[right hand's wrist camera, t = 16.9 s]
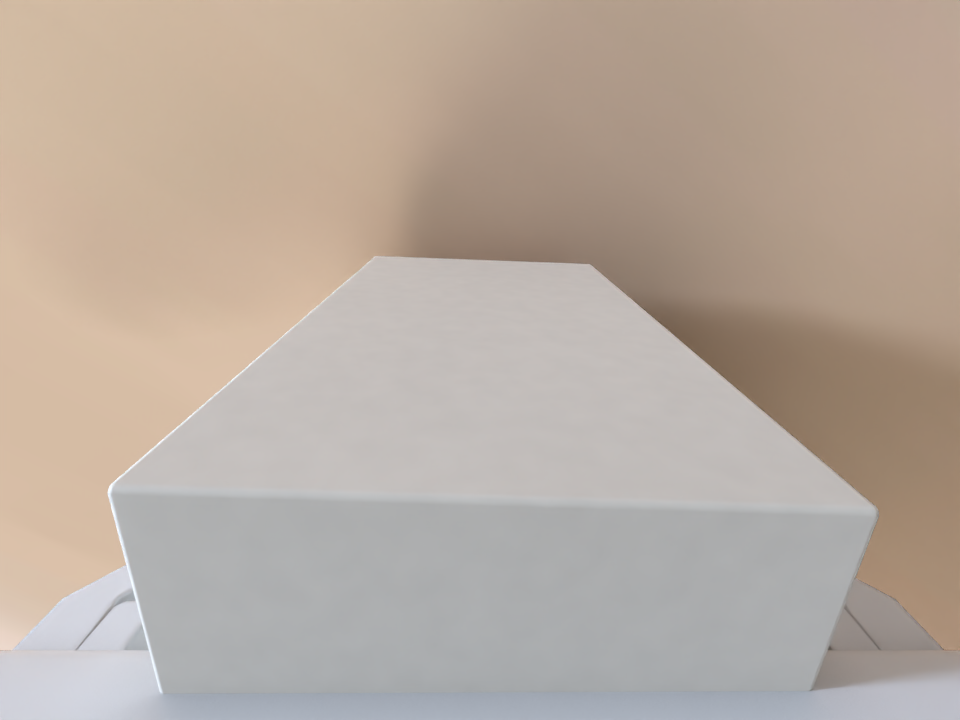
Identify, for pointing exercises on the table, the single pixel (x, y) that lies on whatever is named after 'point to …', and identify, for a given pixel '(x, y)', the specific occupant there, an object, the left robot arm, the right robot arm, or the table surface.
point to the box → (485, 504)
